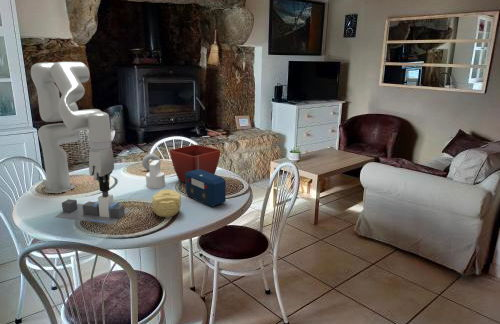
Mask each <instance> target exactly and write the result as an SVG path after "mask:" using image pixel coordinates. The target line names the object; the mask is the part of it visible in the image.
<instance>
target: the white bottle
mask: <svg viewBox="0 0 500 324" xmlns="http://www.w3.org/2000/svg"><path fill="white" fill-rule="evenodd" d="M97 202H98V203H99V214H100V216H101V217H110V216H111V215H110V209H109V206H110V205H112V204H113V203H115V202H114V194H109V191H107V192H104V191H101V195H100V196H97Z"/></svg>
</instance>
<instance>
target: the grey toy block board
mask: <svg viewBox="0 0 500 324" xmlns="http://www.w3.org/2000/svg"><path fill="white" fill-rule="evenodd" d="M61 205H62V212H61V213H60V212H59V214H57V215H56V216H54V218H58V219H67V220H74V221H81V222H82V221H83V222H90V223H91V222H92V223H98V224H107V225H113V224H115V223H116V222H117V221H118V220H120V219H121V218H123V217H124V216H125V217H124V219H126V218H127V217H128V216H129V215H131V214H132V212H131V209H127V208H125V205H124V204H120V202H119V201H115V202H114V203H113V204H112V205H110V206H109V209H110V215H111V216H110V217H101V216H100V214H99V203H98V201H97V202H96V201H87V202H86V203H82V204H81V203H77V199H69V198H68V199H66V200H64V201H63V202H61ZM128 213H129V214H128ZM126 214H128V215H126ZM122 221H123V219H121V220H120V221H119V222H117V223H116V224H115V226H116V225H118V224H119V223H121V222H122ZM111 228H114V226H112V227H111Z"/></svg>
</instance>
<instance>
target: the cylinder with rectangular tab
mask: <svg viewBox="0 0 500 324" xmlns="http://www.w3.org/2000/svg"><path fill="white" fill-rule="evenodd" d="M149 164H150V165H149V170H148V171H149V172H147V173H146V174H145V182H146V183H145V184H146V187H147V188H149V189H161V188H163V187H165V185H166V181H165V179H166V178H165V172H163V171H161V159H160V160H152V161H151V162H150V163H149Z"/></svg>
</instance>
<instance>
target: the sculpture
mask: <svg viewBox="0 0 500 324" xmlns="http://www.w3.org/2000/svg"><path fill="white" fill-rule="evenodd" d="M151 198H152V202H151V203H152V205H151V206H152V209H153V212H154V213H155V214H156V216H158V217H161V218H169V217H173V216H176V215H177V214H178V213H179V211H180V209H181V206H182V200H181V194H180V193H179V192H177V191H175V190H174V189H162V190H158V191H157V192H156V193H155V194H153V195H152V197H151Z"/></svg>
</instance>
